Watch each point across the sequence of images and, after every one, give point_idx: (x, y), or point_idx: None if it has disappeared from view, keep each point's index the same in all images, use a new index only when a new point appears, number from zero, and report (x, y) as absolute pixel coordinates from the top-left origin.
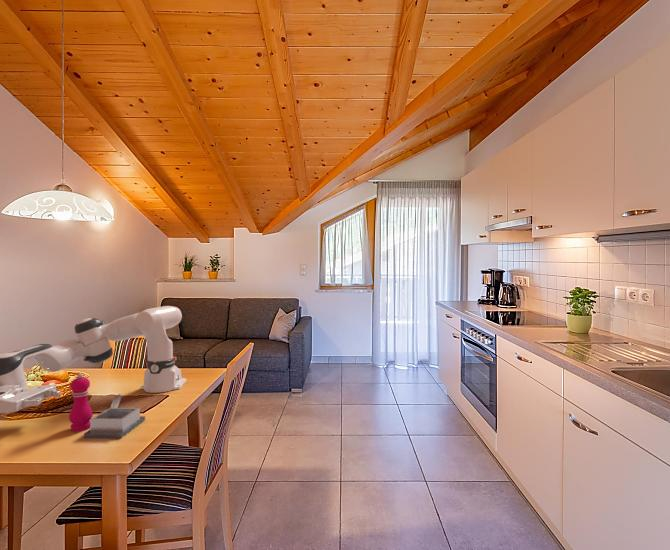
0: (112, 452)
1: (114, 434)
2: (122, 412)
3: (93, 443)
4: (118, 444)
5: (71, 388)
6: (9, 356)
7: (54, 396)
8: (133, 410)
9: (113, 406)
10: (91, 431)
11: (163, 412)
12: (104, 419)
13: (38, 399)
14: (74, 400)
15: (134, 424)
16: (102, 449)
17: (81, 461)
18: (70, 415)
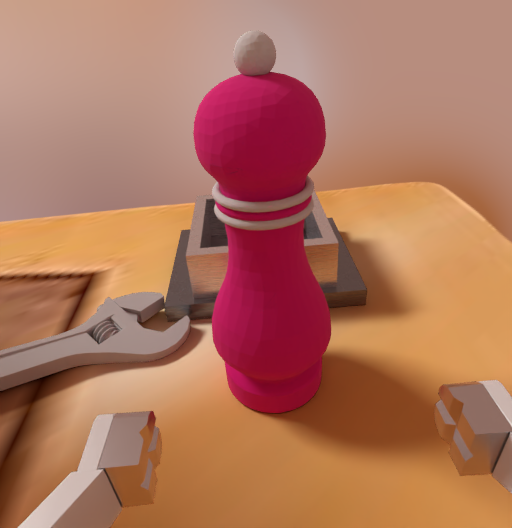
0: (413, 211)
1: (337, 229)
2: (205, 236)
3: (390, 262)
4: (368, 220)
5: (321, 150)
6: None
7: (154, 485)
8: (206, 208)
9: (12, 361)
10: (340, 281)
11: (113, 235)
12: (323, 214)
13: (468, 400)
14: (298, 242)
15: None
16: (411, 230)
17: (494, 230)
18: (324, 323)
